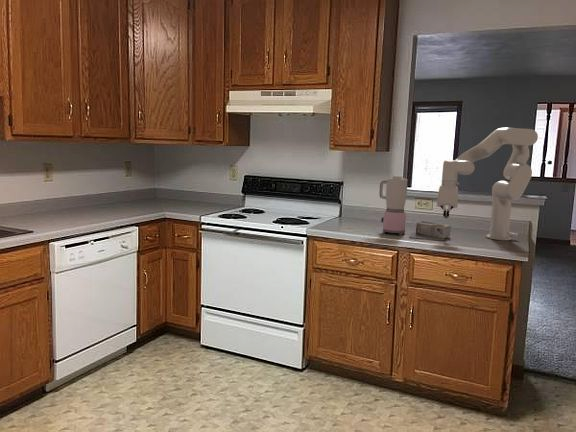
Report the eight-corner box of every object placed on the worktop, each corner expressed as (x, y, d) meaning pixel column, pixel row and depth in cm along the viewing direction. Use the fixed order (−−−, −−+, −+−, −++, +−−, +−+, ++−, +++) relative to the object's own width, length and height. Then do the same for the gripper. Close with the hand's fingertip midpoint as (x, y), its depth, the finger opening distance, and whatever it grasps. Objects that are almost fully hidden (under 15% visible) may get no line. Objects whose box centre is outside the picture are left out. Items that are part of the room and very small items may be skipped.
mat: (444, 236, 271) (445, 235, 271) (444, 241, 257) (444, 240, 257) (411, 233, 277) (411, 232, 276) (409, 237, 262) (409, 237, 262)
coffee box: (450, 236, 268) (422, 232, 278) (451, 225, 267) (423, 220, 277) (443, 238, 261) (415, 234, 271) (444, 226, 260) (416, 222, 270)
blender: (407, 232, 278) (411, 176, 273) (402, 236, 267) (406, 177, 262) (380, 229, 285) (383, 174, 280) (374, 232, 274) (377, 175, 269)
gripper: (463, 184, 261) (460, 218, 263) (434, 182, 265) (431, 215, 268) (464, 185, 254) (460, 220, 256) (434, 183, 258) (431, 217, 261)
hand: (445, 217), depth 262 cm, fingers closed
